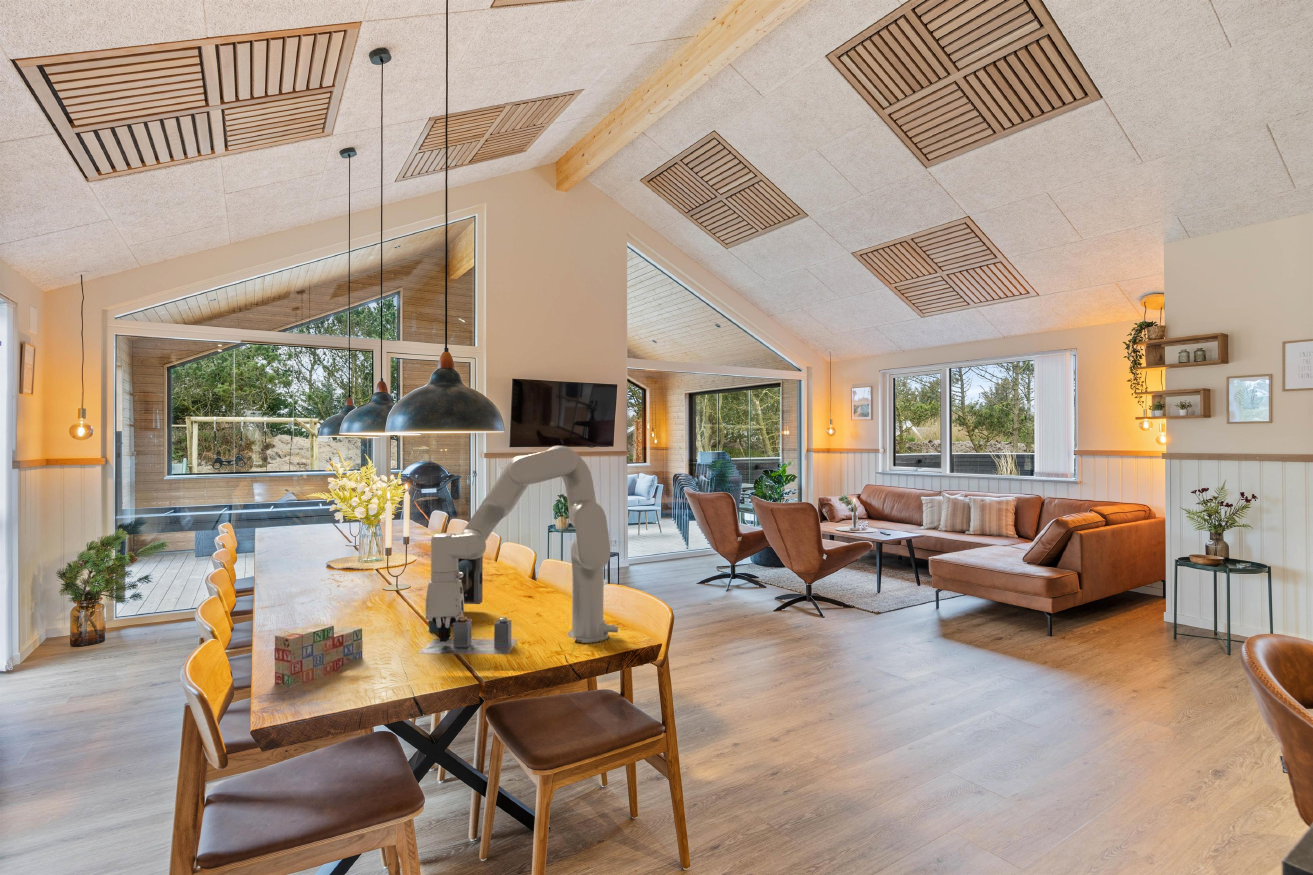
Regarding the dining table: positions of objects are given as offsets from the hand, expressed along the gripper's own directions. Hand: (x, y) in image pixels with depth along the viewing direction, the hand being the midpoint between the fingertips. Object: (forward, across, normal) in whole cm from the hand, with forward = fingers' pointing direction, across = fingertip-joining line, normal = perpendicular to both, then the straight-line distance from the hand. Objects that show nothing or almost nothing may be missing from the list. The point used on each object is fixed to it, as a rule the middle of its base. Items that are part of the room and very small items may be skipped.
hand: (444, 640), depth 196 cm
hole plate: (+3, -7, 0) cm, 8 cm away
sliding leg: (+2, -5, 0) cm, 5 cm away
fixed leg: (+2, -17, 0) cm, 17 cm away
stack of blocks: (+3, +26, +19) cm, 32 cm away
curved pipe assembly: (+3, +6, -27) cm, 28 cm away
